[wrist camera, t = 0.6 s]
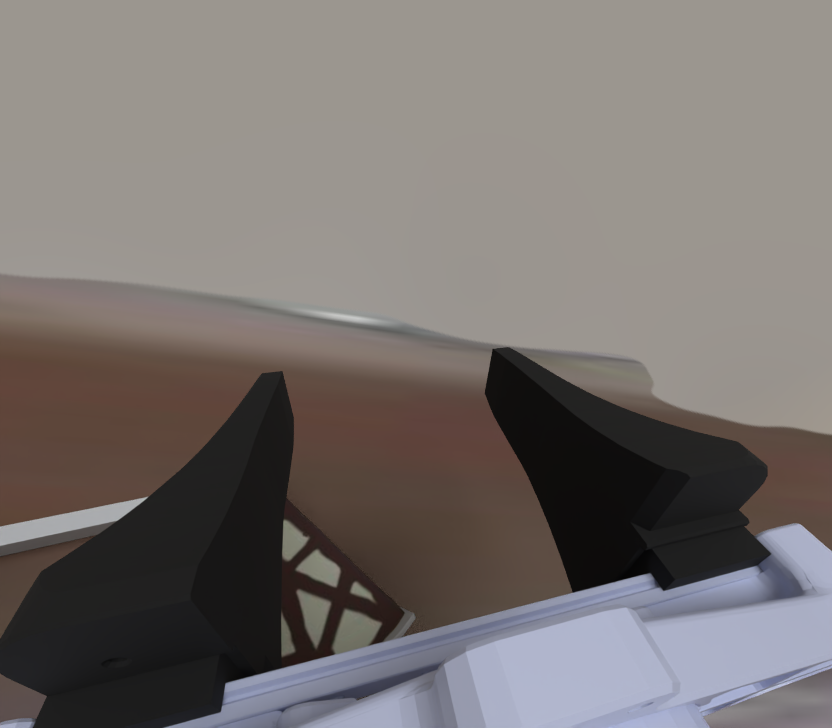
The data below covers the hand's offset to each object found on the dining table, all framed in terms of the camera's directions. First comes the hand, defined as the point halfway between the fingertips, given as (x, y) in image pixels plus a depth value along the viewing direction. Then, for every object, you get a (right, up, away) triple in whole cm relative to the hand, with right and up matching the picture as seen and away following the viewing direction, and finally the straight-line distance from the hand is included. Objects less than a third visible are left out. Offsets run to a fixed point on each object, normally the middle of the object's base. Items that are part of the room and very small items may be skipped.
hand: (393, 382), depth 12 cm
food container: (-8, -14, +11) cm, 19 cm away
